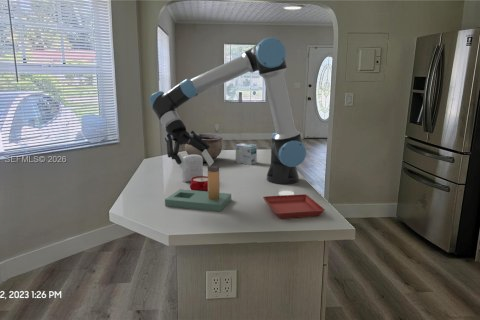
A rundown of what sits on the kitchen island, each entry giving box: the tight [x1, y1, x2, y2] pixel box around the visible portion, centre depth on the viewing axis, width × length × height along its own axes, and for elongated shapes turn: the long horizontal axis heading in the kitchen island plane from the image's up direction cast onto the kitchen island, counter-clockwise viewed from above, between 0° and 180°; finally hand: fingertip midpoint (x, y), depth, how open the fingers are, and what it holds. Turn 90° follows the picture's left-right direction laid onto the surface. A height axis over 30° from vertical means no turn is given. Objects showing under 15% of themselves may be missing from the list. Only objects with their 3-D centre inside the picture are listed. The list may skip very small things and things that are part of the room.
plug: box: [207, 165, 220, 200], centre depth 141 cm, size 4×4×12 cm
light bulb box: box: [235, 142, 258, 165], centre depth 213 cm, size 11×7×11 cm, turn 58°
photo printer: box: [181, 154, 204, 183], centre depth 175 cm, size 10×4×12 cm, turn 123°
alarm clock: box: [189, 175, 208, 192], centre depth 163 cm, size 10×6×15 cm
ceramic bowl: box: [184, 132, 224, 163], centre depth 217 cm, size 22×22×15 cm
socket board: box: [164, 188, 232, 212], centre depth 144 cm, size 22×14×2 cm, turn 75°
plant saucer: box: [262, 193, 326, 219], centre depth 137 cm, size 18×18×3 cm
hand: (199, 167), depth 144 cm, fingers open, 13 cm apart
